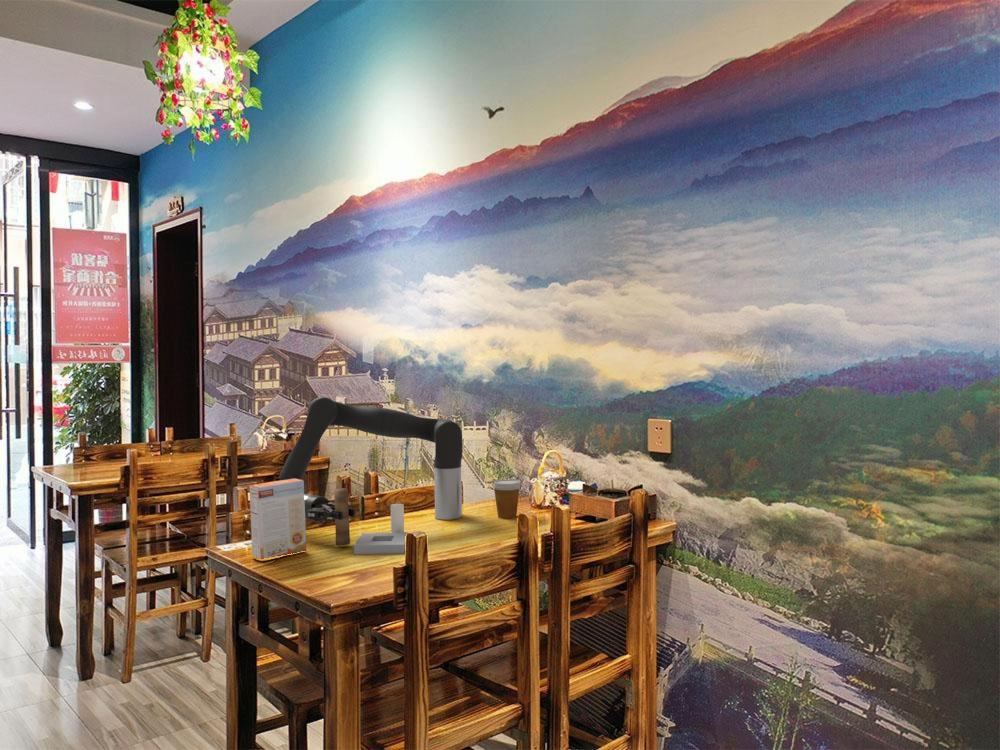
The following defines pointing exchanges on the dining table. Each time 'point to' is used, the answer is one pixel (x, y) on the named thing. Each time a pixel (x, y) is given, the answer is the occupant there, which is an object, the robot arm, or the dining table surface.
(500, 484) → the disposable coffee cup
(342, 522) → the walnut dowel
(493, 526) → the dining table surface
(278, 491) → the cracker box
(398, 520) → the cream rod
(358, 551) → the board
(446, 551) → the dining table surface
